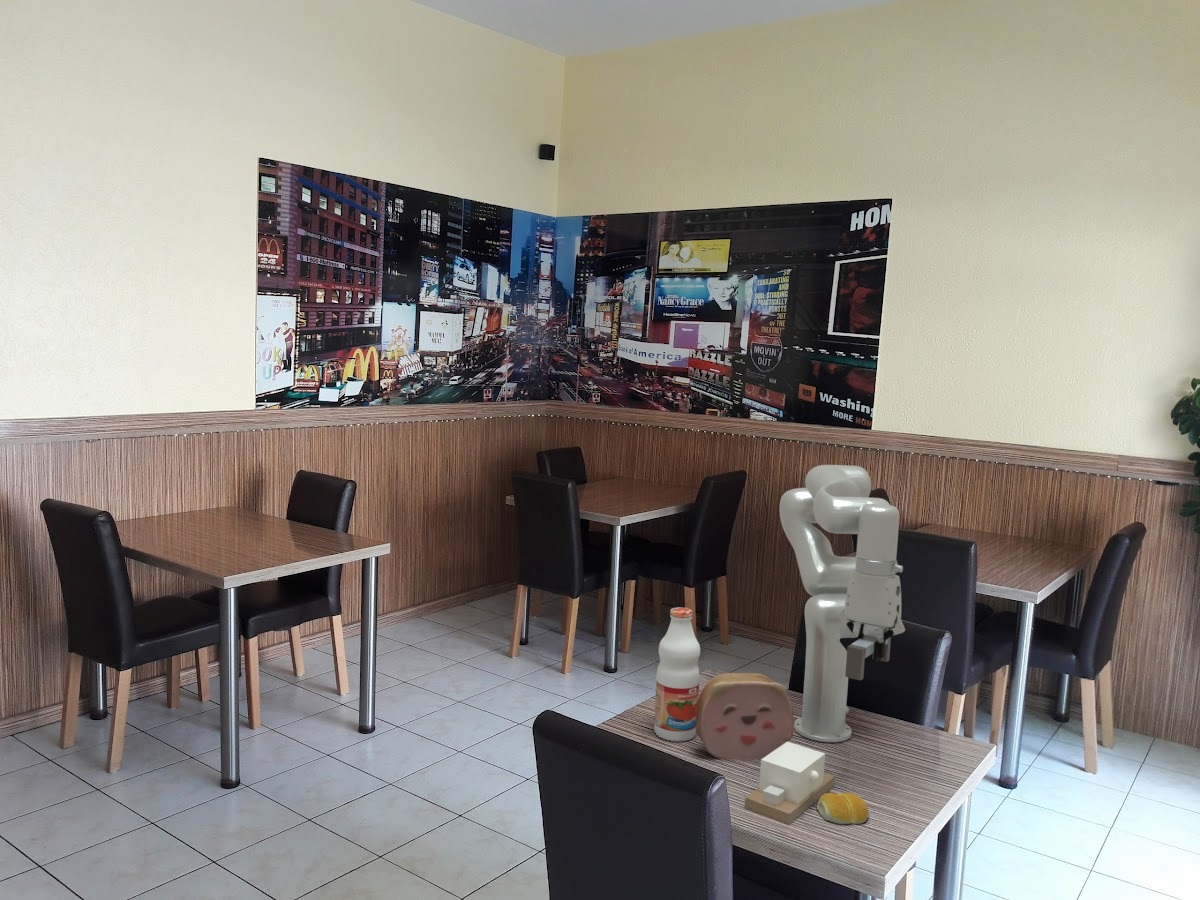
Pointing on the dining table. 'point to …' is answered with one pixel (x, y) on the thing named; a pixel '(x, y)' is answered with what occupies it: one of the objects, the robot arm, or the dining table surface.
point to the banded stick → (863, 654)
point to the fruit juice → (677, 679)
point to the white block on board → (789, 782)
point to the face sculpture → (743, 716)
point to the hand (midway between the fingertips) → (868, 657)
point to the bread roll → (843, 808)
